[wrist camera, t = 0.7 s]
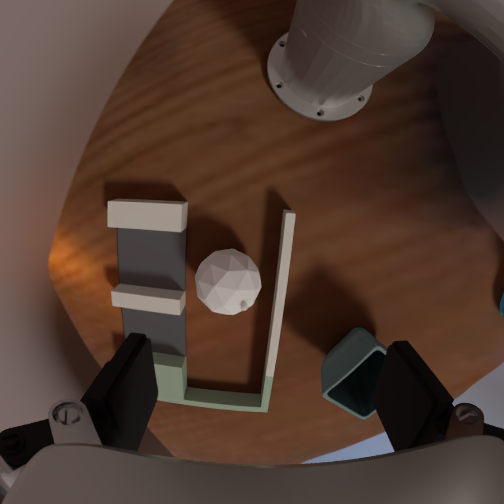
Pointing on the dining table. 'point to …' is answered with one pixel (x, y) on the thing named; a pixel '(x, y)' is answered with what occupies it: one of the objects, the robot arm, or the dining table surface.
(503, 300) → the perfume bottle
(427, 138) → the dining table surface
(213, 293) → the ornament
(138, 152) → the dining table surface
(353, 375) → the flower pot
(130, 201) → the u-shaped rail frame
